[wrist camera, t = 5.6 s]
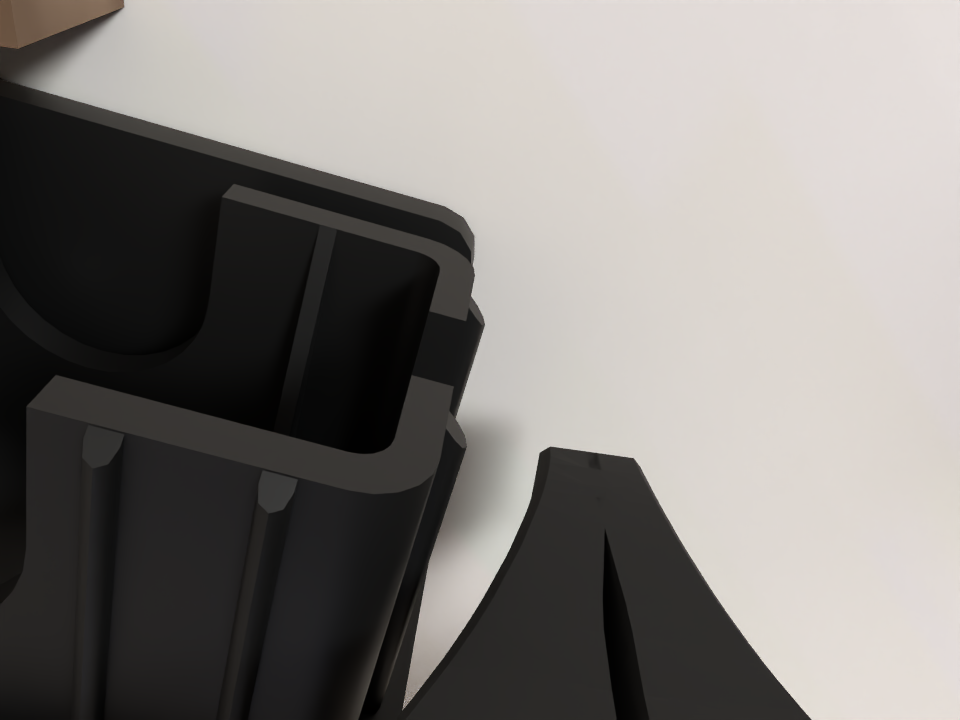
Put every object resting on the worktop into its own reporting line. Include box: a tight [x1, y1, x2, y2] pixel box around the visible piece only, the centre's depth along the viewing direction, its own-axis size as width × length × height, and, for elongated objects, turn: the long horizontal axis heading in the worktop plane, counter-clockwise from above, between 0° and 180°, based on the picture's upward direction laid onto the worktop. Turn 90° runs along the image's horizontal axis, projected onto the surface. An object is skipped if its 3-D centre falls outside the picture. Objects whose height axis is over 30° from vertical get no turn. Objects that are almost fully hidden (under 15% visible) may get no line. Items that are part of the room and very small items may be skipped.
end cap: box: [0, 80, 485, 720], centre depth 11 cm, size 10×7×7 cm
